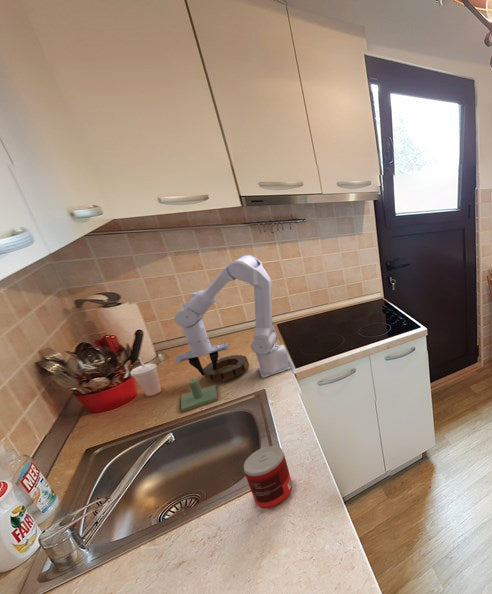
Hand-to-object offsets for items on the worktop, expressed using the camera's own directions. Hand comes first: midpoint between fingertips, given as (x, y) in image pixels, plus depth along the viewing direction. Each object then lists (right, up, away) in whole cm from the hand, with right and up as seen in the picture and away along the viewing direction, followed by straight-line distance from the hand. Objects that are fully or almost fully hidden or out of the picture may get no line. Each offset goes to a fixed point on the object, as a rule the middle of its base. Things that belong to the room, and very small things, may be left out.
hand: (209, 372), depth 120 cm
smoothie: (-14, -6, -6) cm, 16 cm away
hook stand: (+5, -7, -10) cm, 13 cm away
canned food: (+50, -19, -42) cm, 69 cm away
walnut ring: (+4, 0, +4) cm, 5 cm away
